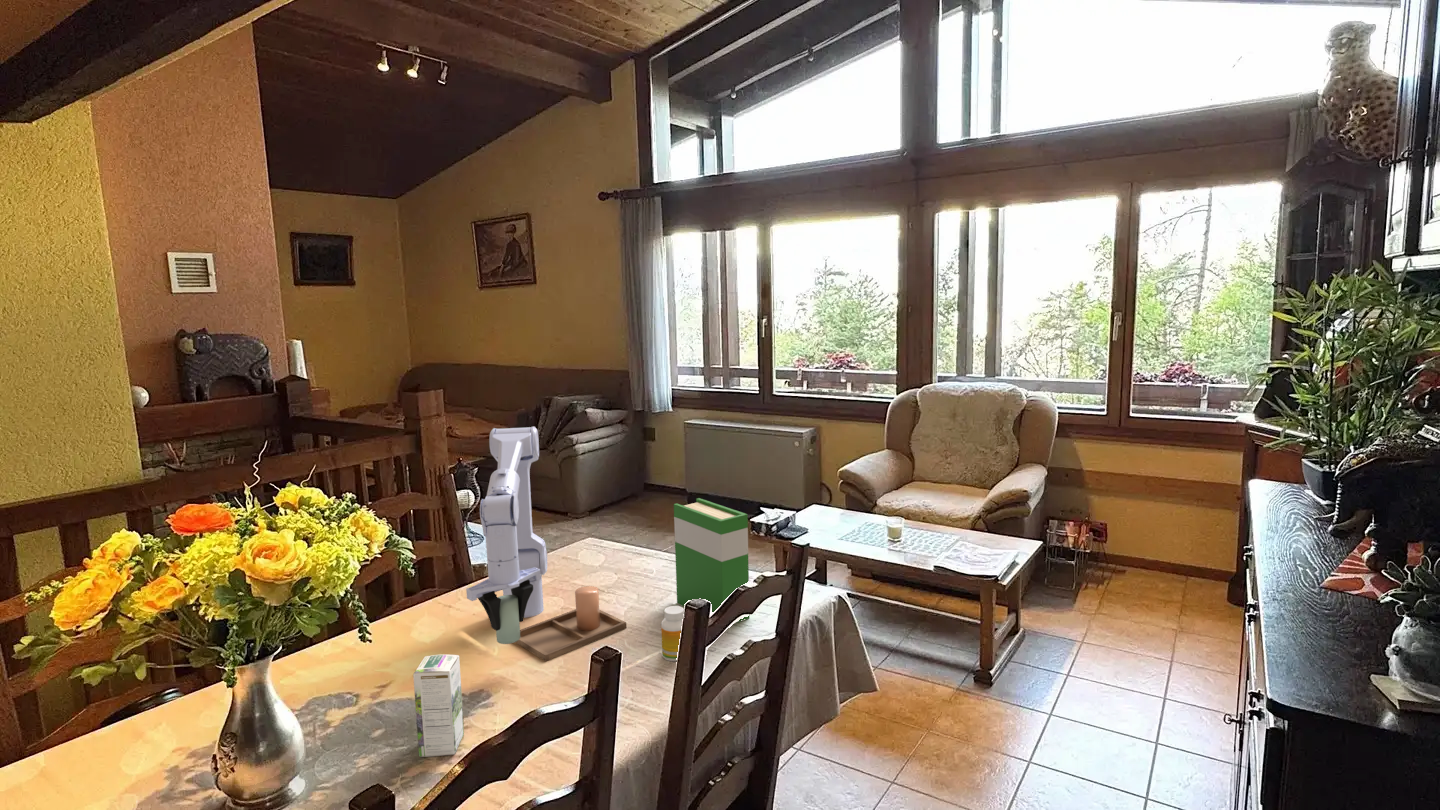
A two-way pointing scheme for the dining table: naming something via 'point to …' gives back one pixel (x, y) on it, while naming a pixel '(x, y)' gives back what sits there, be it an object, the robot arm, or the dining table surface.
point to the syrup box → (438, 705)
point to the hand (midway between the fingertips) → (507, 624)
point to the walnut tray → (565, 634)
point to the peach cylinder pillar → (587, 608)
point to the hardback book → (710, 551)
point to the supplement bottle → (671, 631)
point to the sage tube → (508, 620)
